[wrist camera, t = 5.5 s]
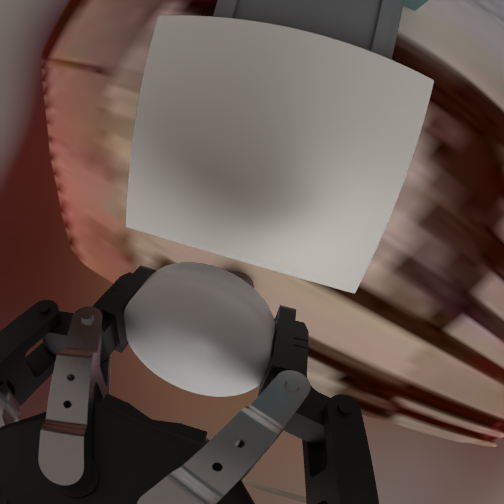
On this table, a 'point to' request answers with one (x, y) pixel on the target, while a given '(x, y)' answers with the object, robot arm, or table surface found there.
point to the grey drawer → (329, 18)
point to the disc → (201, 329)
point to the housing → (272, 145)
